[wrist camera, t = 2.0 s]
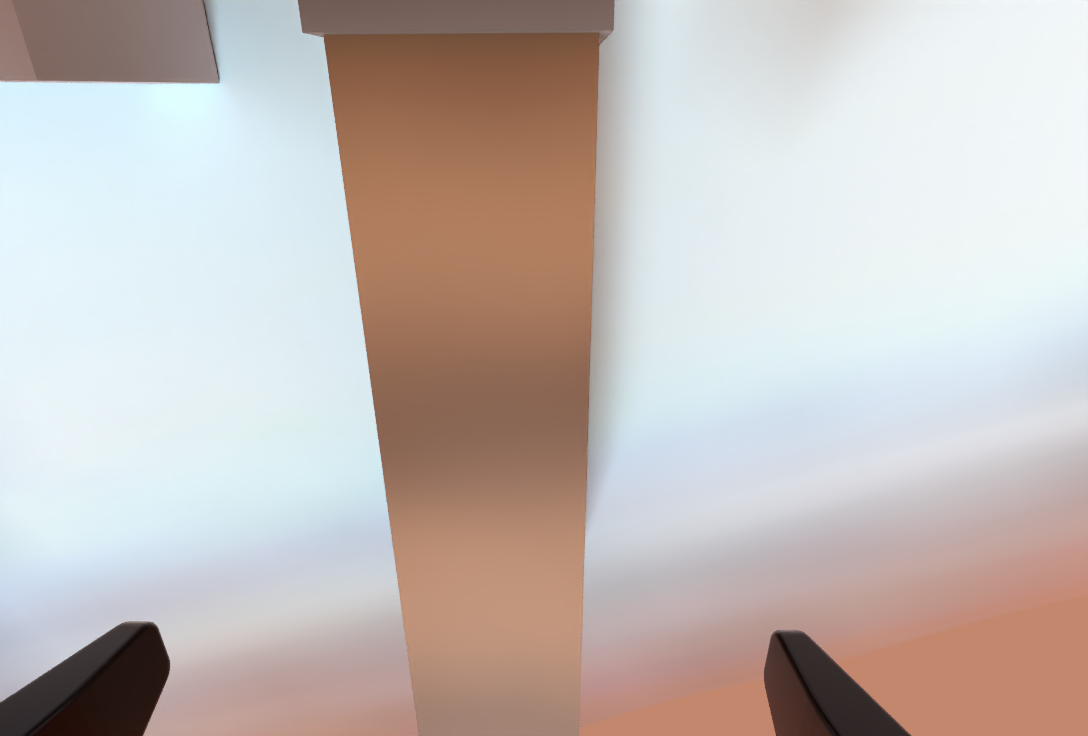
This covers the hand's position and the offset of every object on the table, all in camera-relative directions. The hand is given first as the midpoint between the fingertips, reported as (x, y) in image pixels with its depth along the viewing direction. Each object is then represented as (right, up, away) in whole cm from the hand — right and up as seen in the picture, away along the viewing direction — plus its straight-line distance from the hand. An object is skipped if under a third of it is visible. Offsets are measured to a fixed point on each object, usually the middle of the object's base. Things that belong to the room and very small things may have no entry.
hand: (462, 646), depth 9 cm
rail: (0, +5, +6) cm, 8 cm away
